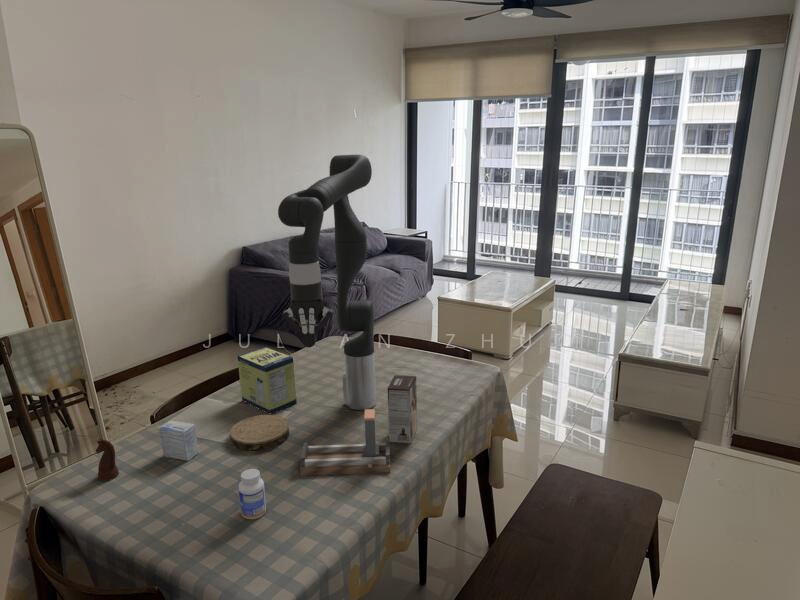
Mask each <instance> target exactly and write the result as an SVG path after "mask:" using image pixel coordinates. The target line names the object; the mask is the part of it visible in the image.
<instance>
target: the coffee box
mask: <svg viewBox="0 0 800 600" xmlns="http://www.w3.org/2000/svg"><path fill="white" fill-rule="evenodd" d="M417 397H418V396H417V376H416V375H398V374H395V375H393V378H392V379H391V381H390V383H389V385H388V387H387V413H388V414H387V415H388V440H389V441H390V443H400V444H401V443H402V444H411V443H413V440H414V437H415V434H416V431H417V429H418V408H417V406H418V405H417V402H418V401H417Z"/></svg>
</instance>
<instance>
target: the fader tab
mask: <svg viewBox="0 0 800 600" xmlns="http://www.w3.org/2000/svg"><path fill="white" fill-rule="evenodd" d="M364 434H365V436H364V437H365V444H366V445H363V457H379V445H376V444H377V442H376V441H377V439H376V410H375V408H374V409H373V408H372V409H371V408H369V409H365V410H364Z"/></svg>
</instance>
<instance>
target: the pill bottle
mask: <svg viewBox="0 0 800 600" xmlns="http://www.w3.org/2000/svg"><path fill="white" fill-rule="evenodd" d="M265 492H266V491H265V482H264V479H262V478H261V473H260V470H258V468H257V469H256V468H250V469H245V470H244V471H242V473H240V482H239V484H238V494H239V496H238V497H239V503H240V504H239V505H240V513H241V516H242V517H243V518H244V519H247V520H256V519H259V518H261V517H262V516H263V515H264V514H265V513H266V511H267V503H266V501H267V500H266V493H265Z"/></svg>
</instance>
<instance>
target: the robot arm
mask: <svg viewBox="0 0 800 600" xmlns="http://www.w3.org/2000/svg"><path fill="white" fill-rule="evenodd" d="M372 169H373V168H372V164H371V161H370V160H369V158H368V157H367V156H366V155H363V154H340V155H338V154H337V155H334V156H333V157H331V160H330V164H329V176H327V177H324V178H320V179H319V180H317V181H316V182H314V183H313V184H311V185H310V186H308V188H306V189H302V190H300V191H297V192H294V193H291V194H289V195H287V196H285V197H284V198H283V199H282V200H281V202H280V203H279V206H278V208H277V209H278V210H277V215H278V216H277V217H278V218H279V220H280V222H281V223H282V224H283V225H284V226H286V227H290V228H291V227H292V228H298V227H299V228H304V230H303V231H304V232H303V234H302V235H298V236H295V237H292V238H290V239H289V241H288V256H289V272H288V273H289V276H288V277H289V284H290V285H289V286H290V298H291V299H290V300H291V301H290V304H289V307H288V309H285V310H284V311H283V313H282V314H281V316H282V318H283V319H284V320H285V321H286V322H287V323H288V324H289V326H291V328H293V330H294V331H295V332H298V333H299V332H300V333H302V335H303V345H304V346H306V348H314V346H315V345H316V342H317V341H316V340H317V339H316V332H320V331H322V329H323V328H324V326H325V325H326V324H327V322H328V321H329V320H330V318H331V317H332V315H333V313H334V310H333V308H329V307H327V306H325V301H324V300H323V288H322V272H321V266H320V258H319V257H320V254H319V241H320V235H321V234H320V233H321V229H322V226H323V221H324V215H325V212H326V211H327V210H328V209H330V208H331V207H332V206H333V217H334V220H333V221H334V250H335V264H336V265H335V266H336V275H337V276H336V280H337V282H336V284H337V286H336V288H337V292H336V293H337V296H336V297H337V298H336V308H337V309H336V317H337V318H336V319H337V320H336V321H337V327H338V329H339V331H341V332H348V333H352V332H362V333H361V334H359V335H358V336H356V337H354V338H350V339H349V340H347V341H345V343H344V344H343V356H344V357H343V359H344V360H343V361H344V362H343V363H344V375H342V378H341V379H342V392H343V393H342V396H343V405H345V406H347V408H349V409H351V410H356V411H365V409H371V408H372V409H373V407H375V405H376V404H377V394H376V365H375V364H376V363H375V342H374V337H375V336H374V329H375V325H374V324H375V311H374V305H373V303H372V302H371V301H370V300H348V299H349V298H348V297H349V292H350V290H351V287H352V285H353V284H354V281H355V280H356V278H357V276H358V274H359V273H360V271H361V269H362V268H363V267H364V265H365V262H366V260H367V257H368V241H367V240H368V238H367V233H366V230H365V228H364V227H363V225H362V223H361V221H360V220H359V218H358V217H357V215H356V214H355V212H354V210H353V208H352V206H351V204H350V200H349V194H352V193H354V192H356V191H357V190H360V189H363V188H365V187H367V185H369V184H370V181H371V179H372V173H373V172H372V171H373V170H372ZM321 313H322V316H323V317H322V318H321V320H320V321H319V322H318V323H317V324H316V322H317V320H316V319H318V318H319V316H320V315H321ZM294 315H295V316H296V318H298V320H300V321H299V322H298V320H297V319H296V318H295V317H294Z"/></svg>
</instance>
